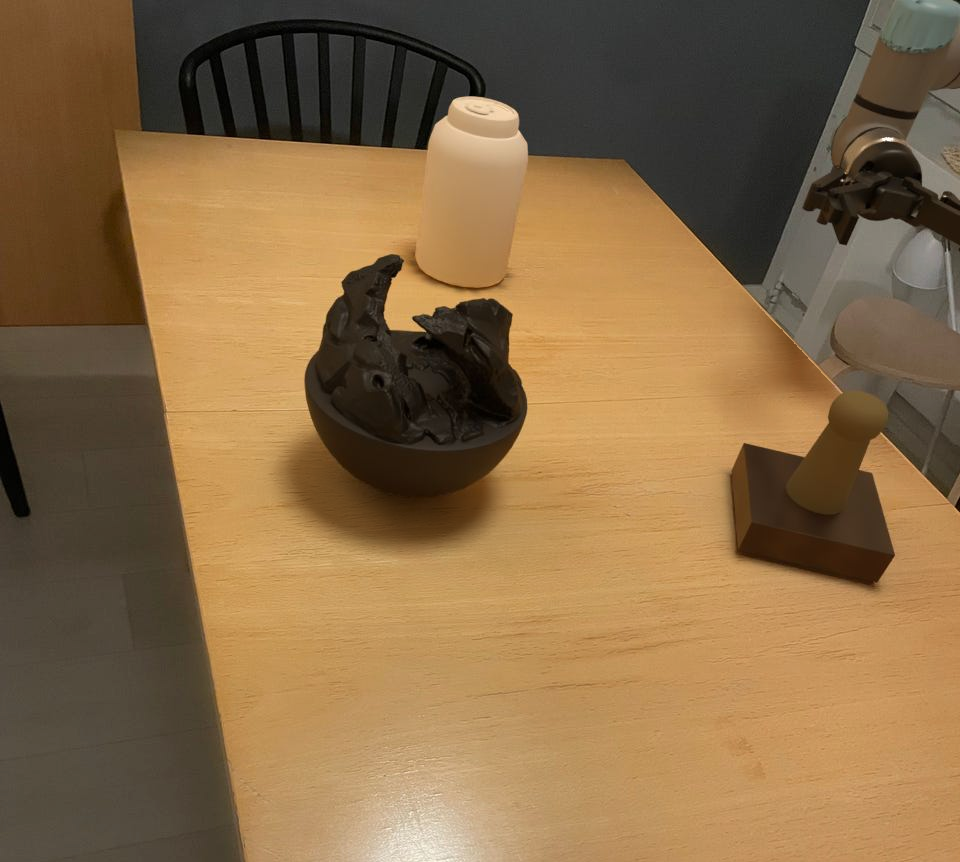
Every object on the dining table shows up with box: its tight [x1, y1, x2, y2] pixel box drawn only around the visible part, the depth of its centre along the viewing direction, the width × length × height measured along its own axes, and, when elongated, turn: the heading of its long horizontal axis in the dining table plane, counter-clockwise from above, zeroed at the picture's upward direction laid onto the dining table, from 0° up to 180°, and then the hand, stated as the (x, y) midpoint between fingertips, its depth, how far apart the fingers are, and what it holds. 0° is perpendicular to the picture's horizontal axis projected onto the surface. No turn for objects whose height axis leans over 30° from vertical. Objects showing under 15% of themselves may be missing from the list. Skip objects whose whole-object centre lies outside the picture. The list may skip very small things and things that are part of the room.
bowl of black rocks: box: [303, 253, 528, 499], centre depth 81 cm, size 20×20×19 cm
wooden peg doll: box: [786, 390, 889, 515], centre depth 87 cm, size 6×6×11 cm
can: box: [414, 95, 529, 289], centre depth 116 cm, size 12×12×20 cm
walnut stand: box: [731, 442, 896, 586], centre depth 92 cm, size 14×14×4 cm
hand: (917, 246), depth 88 cm, fingers open, 13 cm apart
